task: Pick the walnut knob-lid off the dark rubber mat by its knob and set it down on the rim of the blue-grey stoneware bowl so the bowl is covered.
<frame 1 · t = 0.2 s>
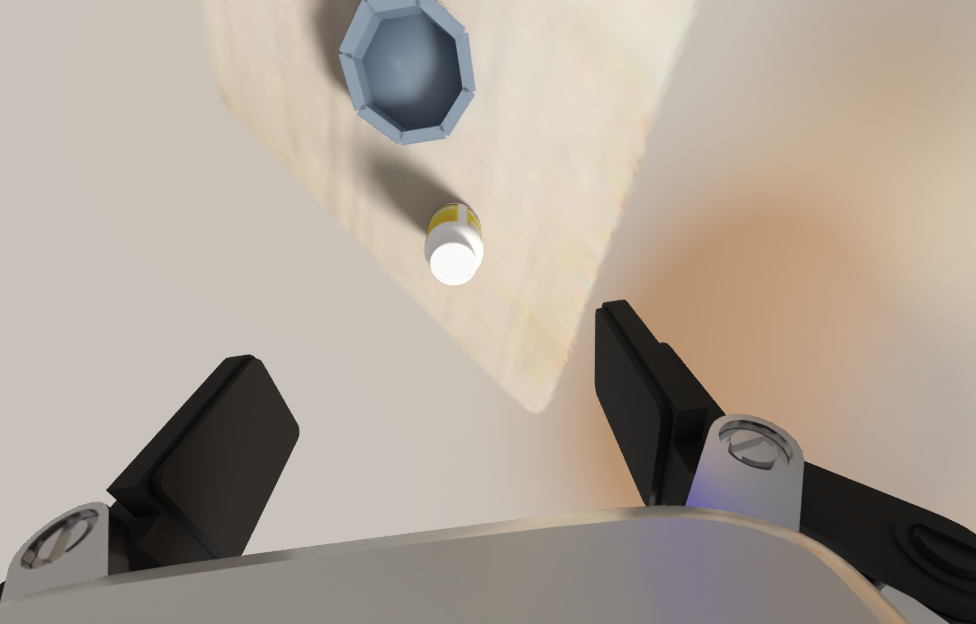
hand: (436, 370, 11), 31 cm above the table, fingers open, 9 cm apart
supplement bottle: (455, 226, 40), on the table
bowl: (414, 75, 33), on the table
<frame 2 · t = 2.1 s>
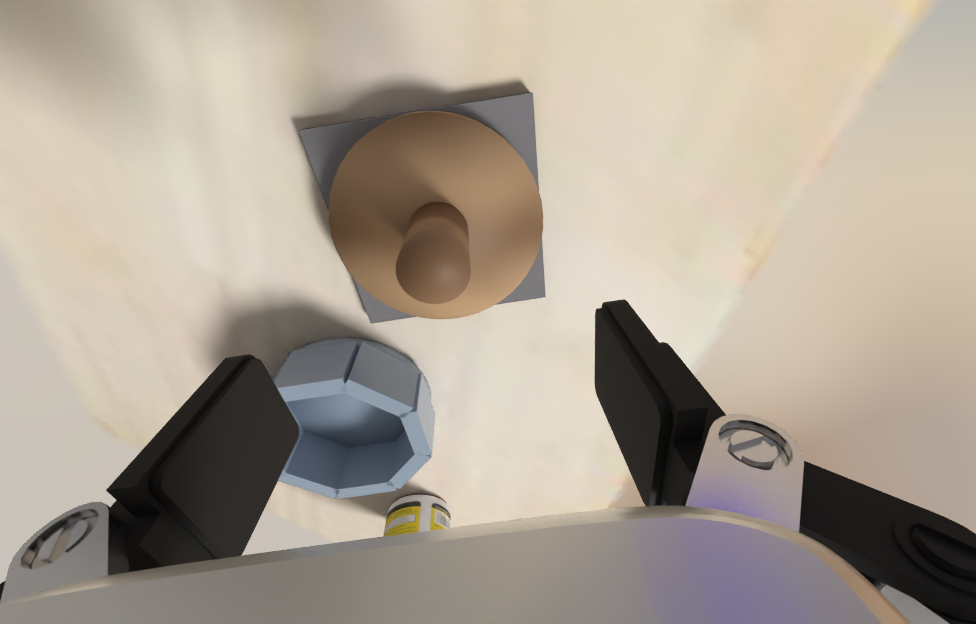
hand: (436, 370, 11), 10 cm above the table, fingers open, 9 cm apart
mat: (440, 221, 19), on the table
supplement bottle: (419, 507, 33), on the table
bowl: (356, 396, 25), on the table
lid: (439, 225, 18), point 1 cm above the table, touching mat
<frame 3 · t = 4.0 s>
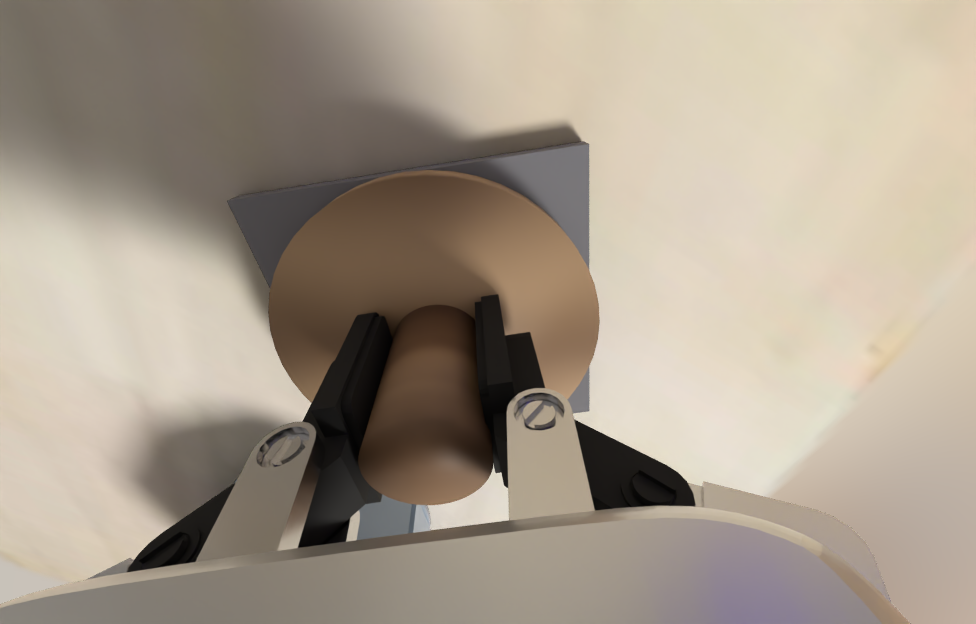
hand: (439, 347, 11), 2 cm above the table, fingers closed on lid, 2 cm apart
mat: (443, 316, 13), on the table
bowl: (332, 518, 19), on the table
lid: (441, 329, 12), point 1 cm above the table, touching gripper
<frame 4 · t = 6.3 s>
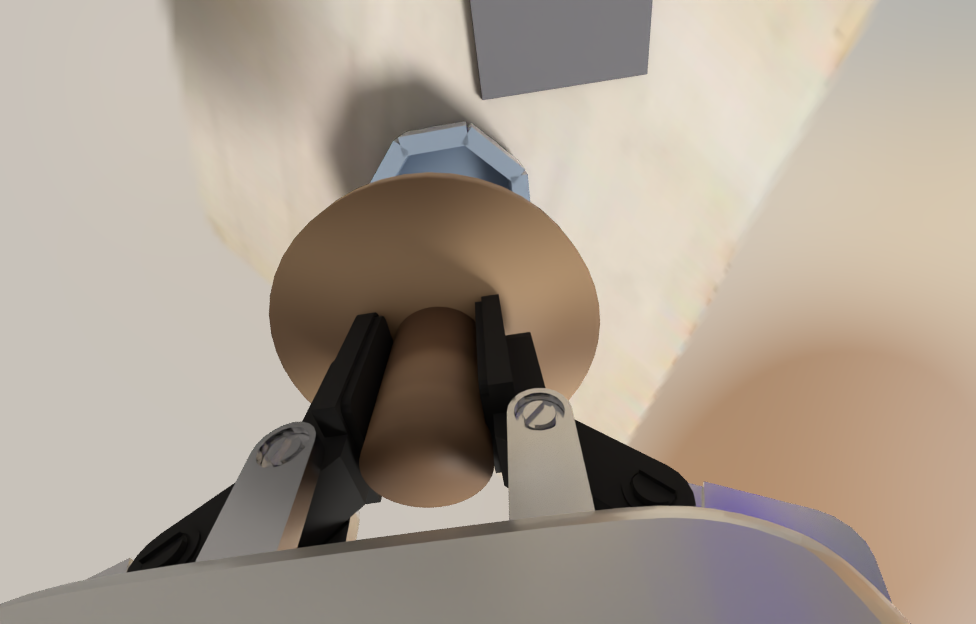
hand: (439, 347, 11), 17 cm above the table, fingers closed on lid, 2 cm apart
bowl: (452, 202, 26), on the table
lid: (441, 331, 12), point 16 cm above the table, touching gripper
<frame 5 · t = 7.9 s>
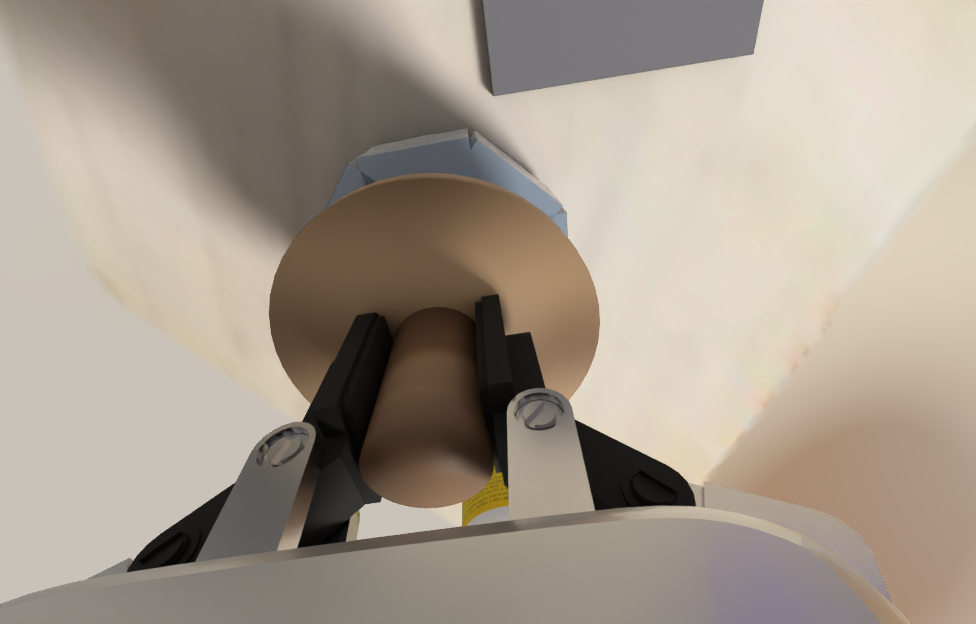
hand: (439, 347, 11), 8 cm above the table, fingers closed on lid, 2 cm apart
supplement bottle: (501, 434, 26), on the table
bowl: (448, 245, 18), on the table
lid: (441, 331, 12), point 7 cm above the table, touching gripper
when the fingers open (6 cm above the table, at t = 9.0 s): lid drops 1 cm, point 4 cm above the table.
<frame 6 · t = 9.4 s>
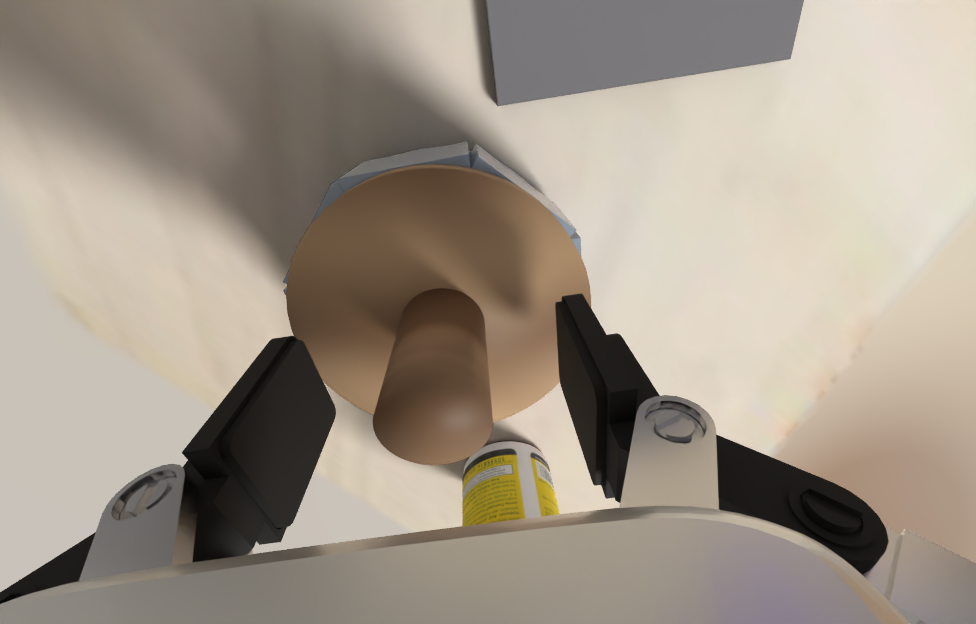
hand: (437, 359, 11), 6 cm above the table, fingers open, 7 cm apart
supplement bottle: (505, 464, 24), on the table
bowl: (447, 267, 17), on the table
lid: (444, 313, 13), point 4 cm above the table
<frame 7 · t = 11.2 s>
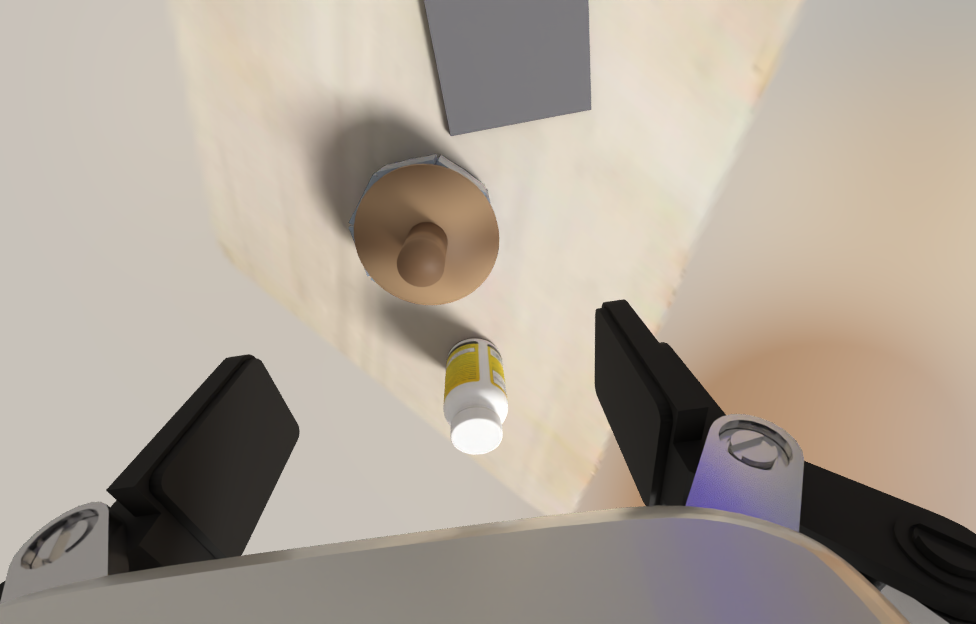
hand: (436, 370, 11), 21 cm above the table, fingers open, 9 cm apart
mat: (509, 37, 24), on the table
supplement bottle: (474, 358, 37), on the table
bowl: (430, 223, 30), on the table
lid: (428, 238, 27), point 4 cm above the table
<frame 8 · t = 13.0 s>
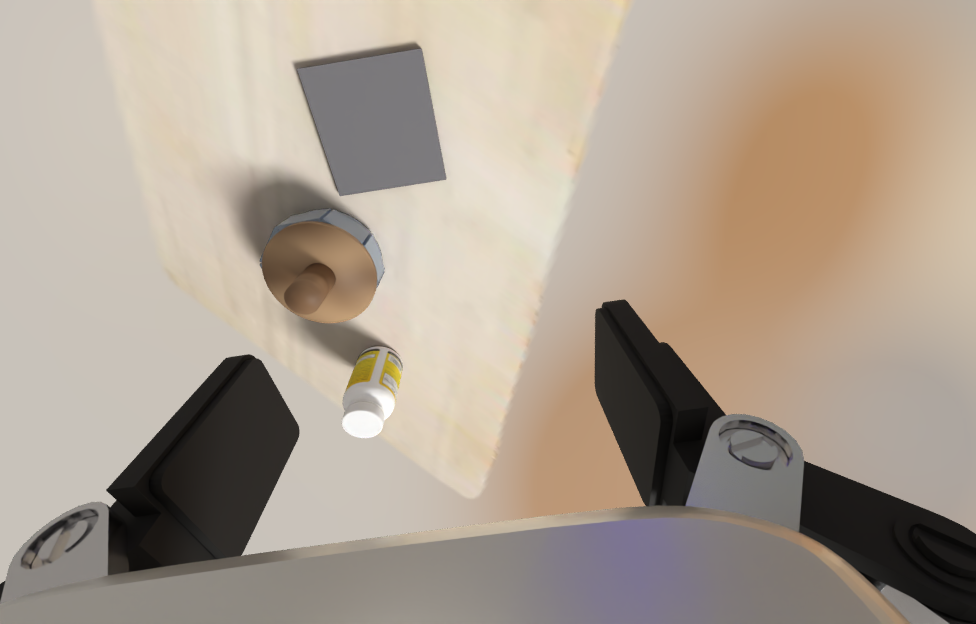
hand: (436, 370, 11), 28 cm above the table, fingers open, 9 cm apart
mat: (378, 127, 32), on the table
supplement bottle: (381, 361, 46), on the table
bowl: (333, 257, 38), on the table, touching lid
lid: (322, 273, 35), point 4 cm above the table, touching bowl
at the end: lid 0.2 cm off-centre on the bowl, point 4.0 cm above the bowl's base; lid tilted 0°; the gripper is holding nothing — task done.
